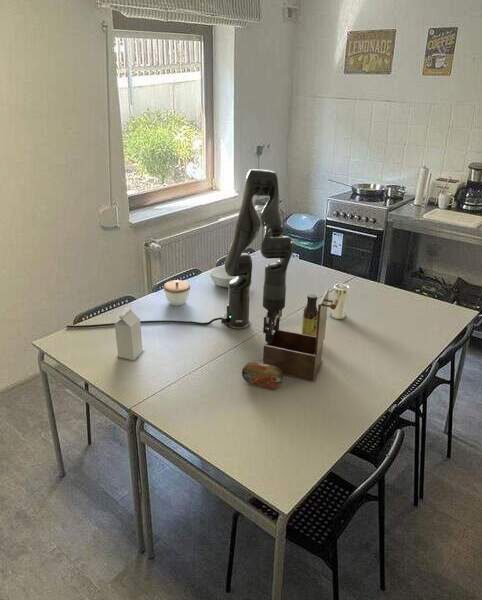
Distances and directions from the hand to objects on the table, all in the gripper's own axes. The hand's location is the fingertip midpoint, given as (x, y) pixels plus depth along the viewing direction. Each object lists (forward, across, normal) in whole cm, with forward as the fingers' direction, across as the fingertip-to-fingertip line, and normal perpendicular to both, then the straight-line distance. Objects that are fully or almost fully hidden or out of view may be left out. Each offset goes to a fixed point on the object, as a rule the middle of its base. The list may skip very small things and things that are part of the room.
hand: (272, 335), depth 170 cm
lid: (-1, -14, +14) cm, 20 cm away
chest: (+20, -14, +5) cm, 25 cm away
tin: (+20, +2, -2) cm, 20 cm away
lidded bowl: (+20, -47, -61) cm, 79 cm away
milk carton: (+20, +2, -57) cm, 61 cm away
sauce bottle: (+20, -37, +6) cm, 43 cm away
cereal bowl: (+20, -76, -47) cm, 91 cm away
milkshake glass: (+20, -62, +14) cm, 67 cm away
